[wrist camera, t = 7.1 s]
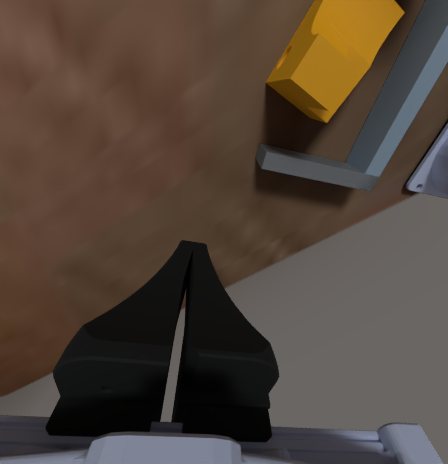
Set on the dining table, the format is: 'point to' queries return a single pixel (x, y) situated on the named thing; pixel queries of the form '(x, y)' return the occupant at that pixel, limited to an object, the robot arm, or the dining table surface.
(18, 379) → the dining table surface
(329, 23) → the pipe clamp
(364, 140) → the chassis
